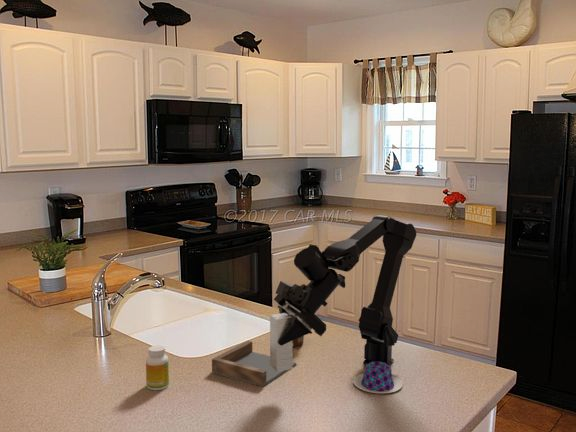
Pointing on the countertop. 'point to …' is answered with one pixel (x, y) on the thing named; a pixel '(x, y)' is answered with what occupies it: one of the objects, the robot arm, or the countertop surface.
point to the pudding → (377, 378)
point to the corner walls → (229, 367)
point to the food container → (297, 341)
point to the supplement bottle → (157, 368)
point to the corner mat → (260, 363)
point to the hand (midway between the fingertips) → (275, 341)
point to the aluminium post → (278, 353)
